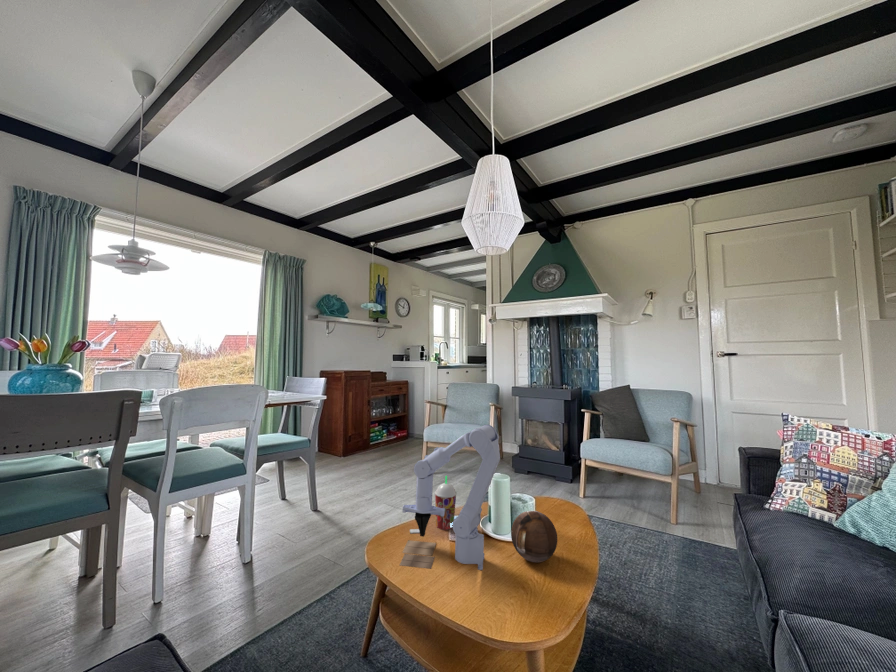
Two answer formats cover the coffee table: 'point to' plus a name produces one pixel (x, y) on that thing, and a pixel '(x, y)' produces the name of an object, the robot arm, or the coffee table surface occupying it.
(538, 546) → the wooden sphere
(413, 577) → the coffee table surface
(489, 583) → the coffee table surface
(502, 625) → the coffee table surface
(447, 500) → the smoothie
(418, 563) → the laid board
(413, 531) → the light grey block
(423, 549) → the board
